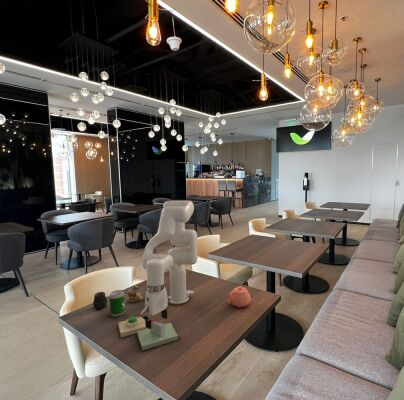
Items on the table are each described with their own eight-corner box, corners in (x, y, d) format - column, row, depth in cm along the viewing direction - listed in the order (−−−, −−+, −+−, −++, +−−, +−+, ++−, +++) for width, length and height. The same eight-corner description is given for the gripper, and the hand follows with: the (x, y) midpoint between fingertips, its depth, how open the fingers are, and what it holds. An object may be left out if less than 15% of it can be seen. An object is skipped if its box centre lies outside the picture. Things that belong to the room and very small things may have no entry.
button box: (143, 320, 137) (143, 312, 137) (147, 330, 128) (147, 322, 128) (118, 326, 132) (118, 318, 131) (120, 337, 123) (120, 329, 122)
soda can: (120, 318, 139) (118, 296, 138) (107, 316, 141) (106, 295, 139) (128, 310, 146) (127, 290, 145) (115, 309, 148) (114, 288, 147)
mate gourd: (107, 303, 155) (106, 286, 154) (107, 309, 148) (106, 292, 147) (94, 305, 153) (93, 288, 152) (92, 311, 146) (91, 294, 145)
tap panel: (170, 326, 132) (170, 322, 131) (178, 339, 121) (178, 335, 121) (137, 335, 124) (137, 331, 124) (142, 350, 114) (141, 346, 113)
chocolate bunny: (131, 297, 162) (131, 282, 161) (143, 298, 160) (143, 282, 159) (127, 302, 156) (126, 285, 155) (139, 303, 155) (138, 286, 154)
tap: (164, 334, 121) (164, 323, 121) (161, 337, 120) (160, 326, 119) (153, 329, 125) (153, 319, 125) (150, 332, 123) (149, 321, 123)
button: (135, 318, 132) (135, 315, 132) (136, 322, 129) (136, 318, 129) (128, 320, 130) (127, 317, 130) (129, 324, 127) (128, 320, 127)
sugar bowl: (254, 306, 151) (254, 289, 150) (233, 312, 144) (233, 294, 143) (243, 297, 162) (243, 281, 160) (223, 302, 155) (223, 285, 154)
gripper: (146, 296, 111) (147, 335, 112) (175, 282, 125) (175, 316, 127) (134, 291, 115) (135, 329, 116) (163, 278, 129) (164, 312, 131)
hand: (156, 322), depth 121 cm, fingers open, 9 cm apart
